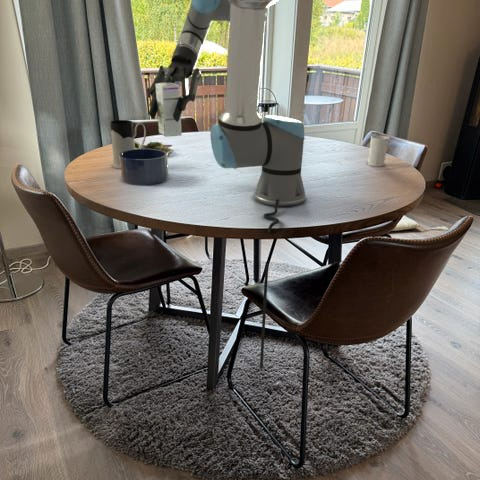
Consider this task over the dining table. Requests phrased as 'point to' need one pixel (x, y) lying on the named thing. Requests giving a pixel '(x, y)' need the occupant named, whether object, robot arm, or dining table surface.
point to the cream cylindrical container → (378, 150)
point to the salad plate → (155, 146)
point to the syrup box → (167, 109)
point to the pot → (144, 166)
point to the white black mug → (123, 138)
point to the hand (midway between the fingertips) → (163, 117)
